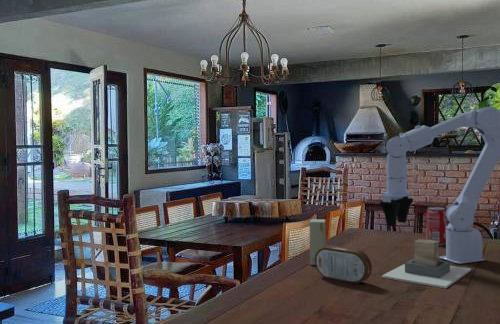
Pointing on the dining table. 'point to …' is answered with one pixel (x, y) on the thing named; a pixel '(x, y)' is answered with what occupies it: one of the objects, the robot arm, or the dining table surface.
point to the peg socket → (428, 274)
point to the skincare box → (317, 237)
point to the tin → (343, 264)
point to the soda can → (436, 225)
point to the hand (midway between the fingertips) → (396, 224)
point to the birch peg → (426, 252)
